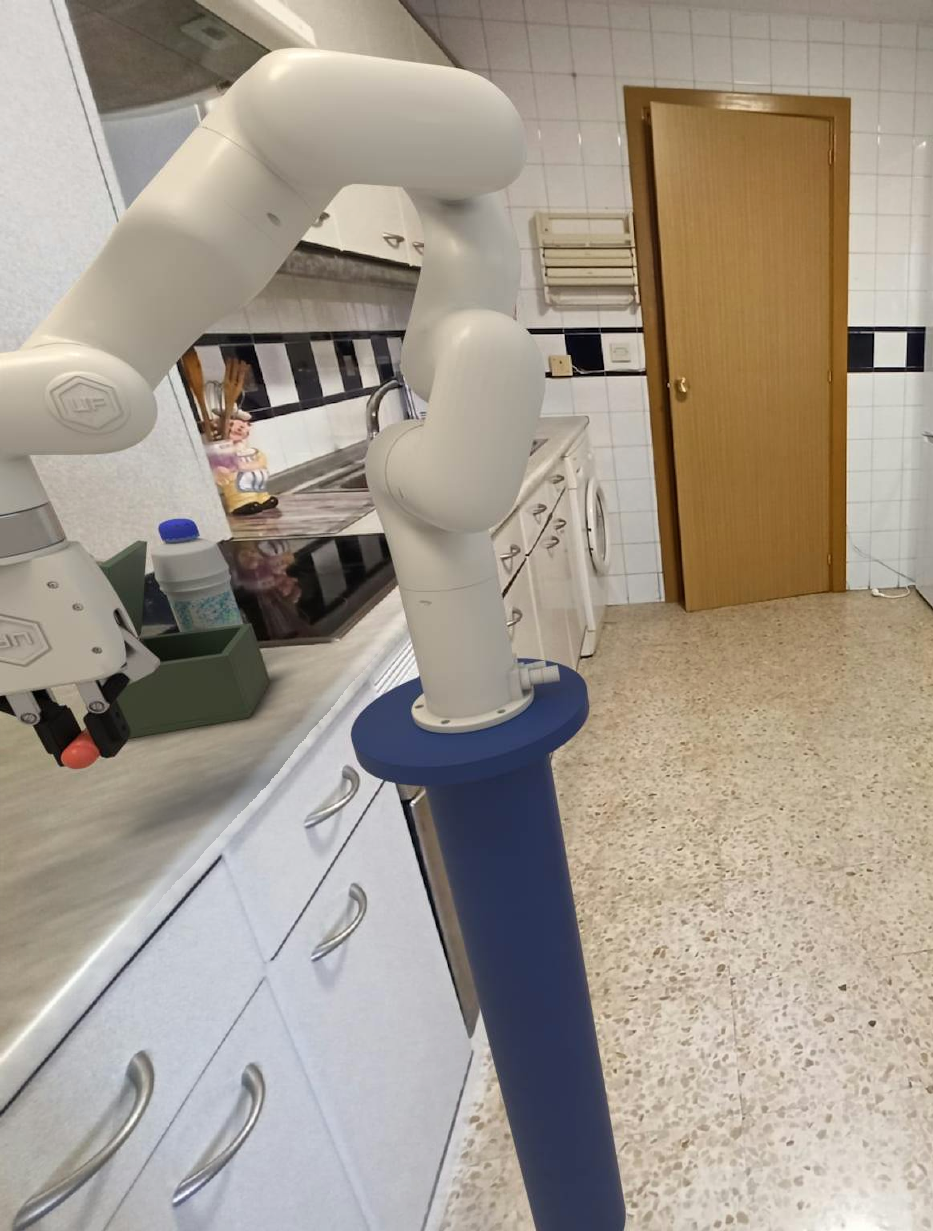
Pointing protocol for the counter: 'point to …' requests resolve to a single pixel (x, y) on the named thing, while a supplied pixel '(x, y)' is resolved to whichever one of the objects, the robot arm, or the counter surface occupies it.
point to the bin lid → (128, 579)
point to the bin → (196, 680)
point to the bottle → (194, 578)
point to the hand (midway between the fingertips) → (95, 751)
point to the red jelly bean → (80, 752)
